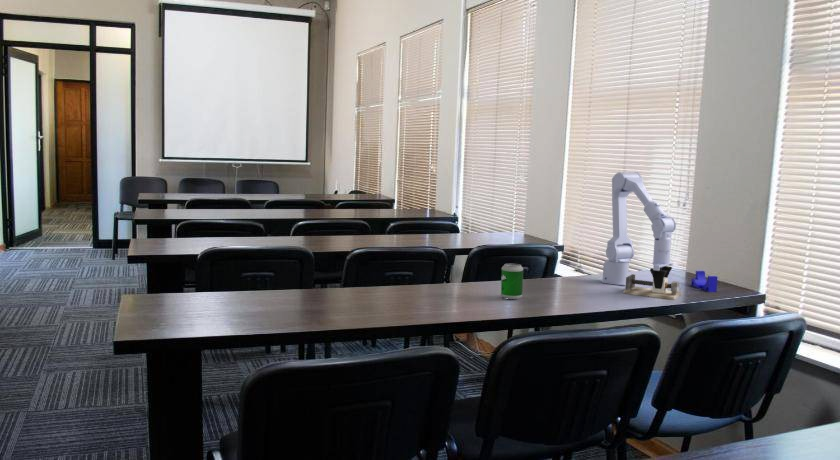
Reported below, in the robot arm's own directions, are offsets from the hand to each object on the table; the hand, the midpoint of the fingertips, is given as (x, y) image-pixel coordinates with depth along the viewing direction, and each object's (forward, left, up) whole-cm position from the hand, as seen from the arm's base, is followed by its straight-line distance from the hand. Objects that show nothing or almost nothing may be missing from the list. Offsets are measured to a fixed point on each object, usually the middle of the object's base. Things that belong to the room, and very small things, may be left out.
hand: (660, 287), depth 239 cm
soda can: (-42, -37, -3) cm, 56 cm away
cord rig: (-3, 0, -3) cm, 4 cm away
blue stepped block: (+11, +22, -3) cm, 25 cm away
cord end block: (0, 0, -2) cm, 2 cm away
